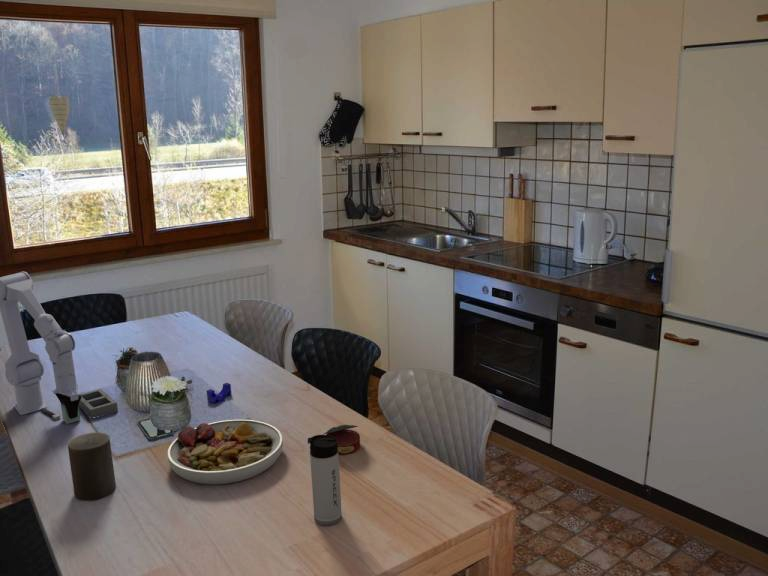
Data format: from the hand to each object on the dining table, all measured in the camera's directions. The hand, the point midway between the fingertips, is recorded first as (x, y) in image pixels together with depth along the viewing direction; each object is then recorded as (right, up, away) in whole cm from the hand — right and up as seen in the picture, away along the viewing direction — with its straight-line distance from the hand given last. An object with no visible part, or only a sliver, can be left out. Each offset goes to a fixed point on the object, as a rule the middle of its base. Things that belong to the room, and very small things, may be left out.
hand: (71, 415), depth 220 cm
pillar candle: (+24, -12, -40) cm, 48 cm away
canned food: (+84, -5, -22) cm, 87 cm away
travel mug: (+82, -14, -55) cm, 100 cm away
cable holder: (+43, +3, +13) cm, 45 cm away
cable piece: (-9, -1, +6) cm, 11 cm away
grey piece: (+4, +1, +9) cm, 10 cm away
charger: (0, -1, 0) cm, 1 cm away
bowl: (+53, -8, -27) cm, 60 cm away
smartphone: (+28, -3, -7) cm, 29 cm away
